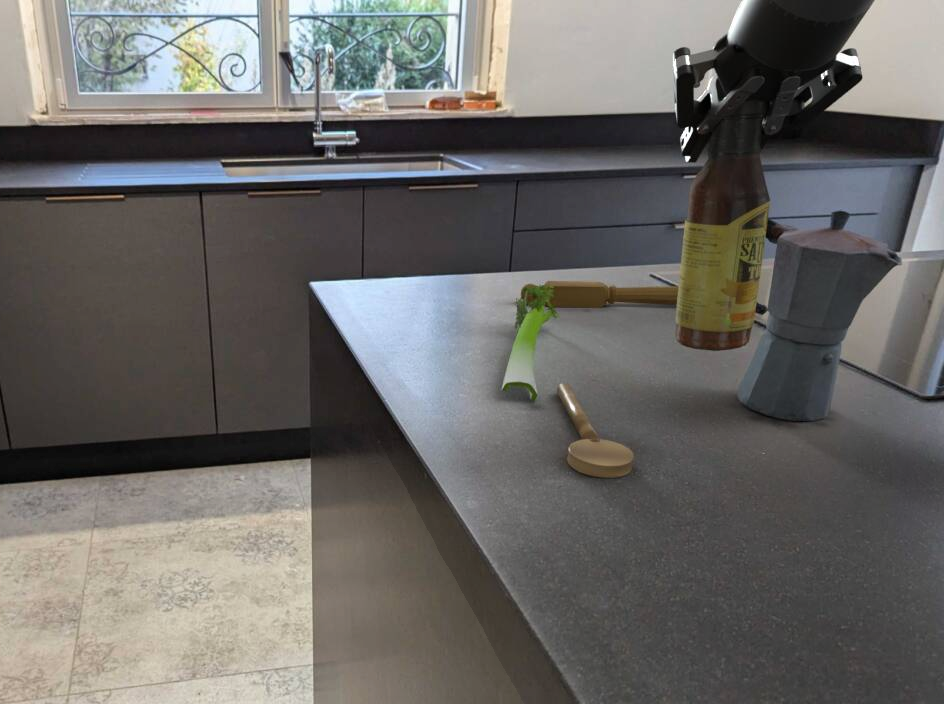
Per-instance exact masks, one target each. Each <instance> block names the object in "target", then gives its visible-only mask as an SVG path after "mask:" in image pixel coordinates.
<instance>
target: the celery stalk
mask: <svg viewBox="0 0 944 704" xmlns="http://www.w3.org/2000/svg"><path fill="white" fill-rule="evenodd" d="M542 285H543V286H542ZM542 285H541V284H539V285H536V284H534V287H530V288H529V285H528V287H526V288H523V287H522V288H523V290H522V289H521V290H522V291H524V292H526V294H525V299H524V298H523V300H522V297H521V296H520V298H519V297H516V299H515V304H516V313H515V314H516V317H515V323H514V330H515V331H516V330H517V329H518V332H517V334H516V336H515V339H514V342H513V344H512V348H511V353H510V355H509V359H508V363H507V366H506V370H505V374H504V377H503V381H502V385H501V386H502V387H501V390H500V391H501V392H507V391H508V389H509V388H510V387H520V388H521V387H523V388H526V389H527V390H528V391H529V399H530V401H531V402H532V403H534V404H535V402H536V400H537V398H538V396H539V395H538V390H537V385H536V384H537V383H536V378H535V370H534V369H535V368H534V367H535V363H534V362H535V348H536V343H537V338H538V335H539V332H540V330H541V328H542V325H544V324H546V323H547V322H548V320H550V318H551V317H552V318H553V319H554V320H558V319H559V318H560V315H559V313H558V312H557V309H555V307H553V306H552V305H551V304H550V303H549V300H550V299H551V298H549V296H550V297H554V295H552V292H554V290H551V289H550V288H554V287H553V286H548V284H547V285H546V286H544V285H545V284H542ZM548 287H550V288H548ZM547 288H548V290H547ZM543 289H545V290H546V291H545V290H543ZM532 290H533V291H532ZM527 292H528V293H529V294H533V298H534V301H532V302H528V303H527V302H526V301H527V300H526V299H527ZM535 296H536V298H537V299H535ZM541 299H542V300H541ZM546 302H548V303H547V304H549V305H548V306H547V307H548V308H547V311H546V312H545V311H544V310H545V306H546V305H545V303H546ZM554 305H555V304H554ZM528 307H529V308H530V307H531V309H530V310H528V309H527V308H528ZM544 312H545V313H544ZM518 326H519V328H518ZM543 328H545V325H544V327H543Z"/></svg>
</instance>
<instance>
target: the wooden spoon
mask: <svg viewBox="0 0 944 704" xmlns="http://www.w3.org/2000/svg"><path fill="white" fill-rule="evenodd" d="M556 392H557V395H558V396H559V398H560V400H561V402H562V404H563V406H564V409H565V410H566V412H567V414H568V416H569V417H570V419H571V421H572V423H573V426H574V427H575V429H576V431H577V432H578V434H579V437H580V438H581V439H578V440H576V441H573V442H572V443H571V444H570V445H569V446H568V450H567V458H566V460H567V464H568V465H569V466H570V467H571V468H572V469H573V470H574V471H576V472H579V473H581V474H583V475H586V476H591V477H595V478H605V479H612V478H620V477H624V476H627V475H628V474H630V473H631V472H632V470H633V465H634V461H635V454H634V452H633V450H631V449H630V448H628V447H627V446H626V445H624V444H621V443H619V442H616V441H612V440H607V439H601V438H600V437H599V435H598V434H597V432H596V430H595V428H594V426H593V424H592V423H591V421H590V420H589V418H588V416H587V415H586V413H585V411H584V409H583V408H582V406H581V404H580V402H579V400H578V399H577V397H576V395H575V393H574V391H573V390H572V388H571V386H570V385H569V384H568V383H566V382H562V383H560V384H558V385H557V386H556Z"/></svg>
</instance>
